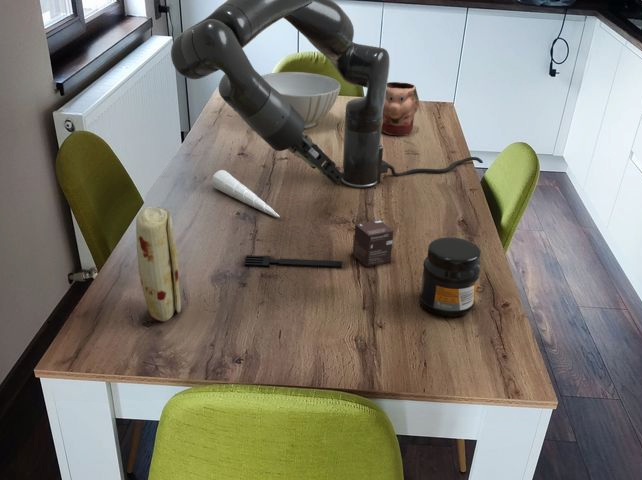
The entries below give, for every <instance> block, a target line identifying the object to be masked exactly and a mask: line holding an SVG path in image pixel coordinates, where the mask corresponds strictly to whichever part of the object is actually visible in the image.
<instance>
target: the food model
mask: <svg viewBox="0 0 642 480" xmlns="http://www.w3.org/2000/svg"><path fill="white" fill-rule="evenodd" d="M135 236H136V256H137V257H136V258H137V265H138V266H137V267H138V275H139V276H138V277H139V280H140V285H141V289H142V293H143V297H144V300H145V304H146V306H147V311H148V315H149V316H150V318H151V320H152V321H154V322H166V321H168V320H170V319H171V318H172V317H173V316H174V314H175V312H176V313H177V314H180V313H181V310H182V308H181V307H182V305H181V292H180V291H181V290H180V279H179V277H180V275H179V259H178V258H179V257H178V252H177V247H176V240H175V239H176V238H175V231H174V224H173V216H172V214H171V212H170V211H169V210H168V209H167V208H165V207H160V206H159V207H154V206H150V205H149V206H145V207H144V208H143V209H141V210H140V212H139V213H138V214H137V215H136V218H135Z"/></svg>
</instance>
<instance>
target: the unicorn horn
mask: <svg viewBox="0 0 642 480" xmlns="http://www.w3.org/2000/svg"><path fill="white" fill-rule="evenodd" d="M211 183H212V186H213V187H214V189H216V190H217V191H220V192H222V193H224V194H226V195H227V196H229V197H232V198H234V199H236V200H238V201H240V202H242V203H244V204H246V205H248V206H250V207H252V208H254V209H257V210H259V211H261V212H262V213H264V214H265V213H266V214H268V215H270V216H272V217H275V218H281V216H280V215H279V214H278V213H277V212H276V211H275V210H274V209H273V208H272V207H271V206H270V205H269V204H267V203H266V202H265V201H263V199H262V198H260V197H258V195H257V194H256V193H254V192H253V191H252V190H250V189H249V188H248V187H246V186H245V185H244V184H243V183H241V182H240V181H239V180H238V179H237V178H236V177H234V176H233V175H232V174H230V173H229V171H227V170H224V169H220V170H217V171H216V172H215V173H214V174H213V175H212V179H211Z"/></svg>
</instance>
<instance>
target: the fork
mask: <svg viewBox="0 0 642 480" xmlns="http://www.w3.org/2000/svg"><path fill="white" fill-rule="evenodd" d="M243 265H244V267H255V268H256V267H258V268H269V267H270V265H278V267H279V266H281V267H282V266H283V267H301V268H302V267H305V268H324V269H325V268H326V269H327V268H329V269H343V261H342V260H325V259H324V260H320V259H299V258H279V259H277V258H271V255H249V254H248V255H247V254H246V255H245V260H244V264H243Z"/></svg>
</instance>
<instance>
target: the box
mask: <svg viewBox="0 0 642 480" xmlns="http://www.w3.org/2000/svg"><path fill="white" fill-rule="evenodd" d="M393 239H394V230H393V228H391V227H390V226H388V225H387V224H386V223H385V222H383V221H382V220H381V219H377V220H368V221H363V222H359V223H355V226H354V239H353V249H352V251H353V252H352V255H353V256H354V257H355V258H356V259H357V260H359V261H360V263H362V264H363V265H364V266H365V267H373V266H377V265H383V264H387V263H390V262H391V261H392V250H393Z"/></svg>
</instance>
